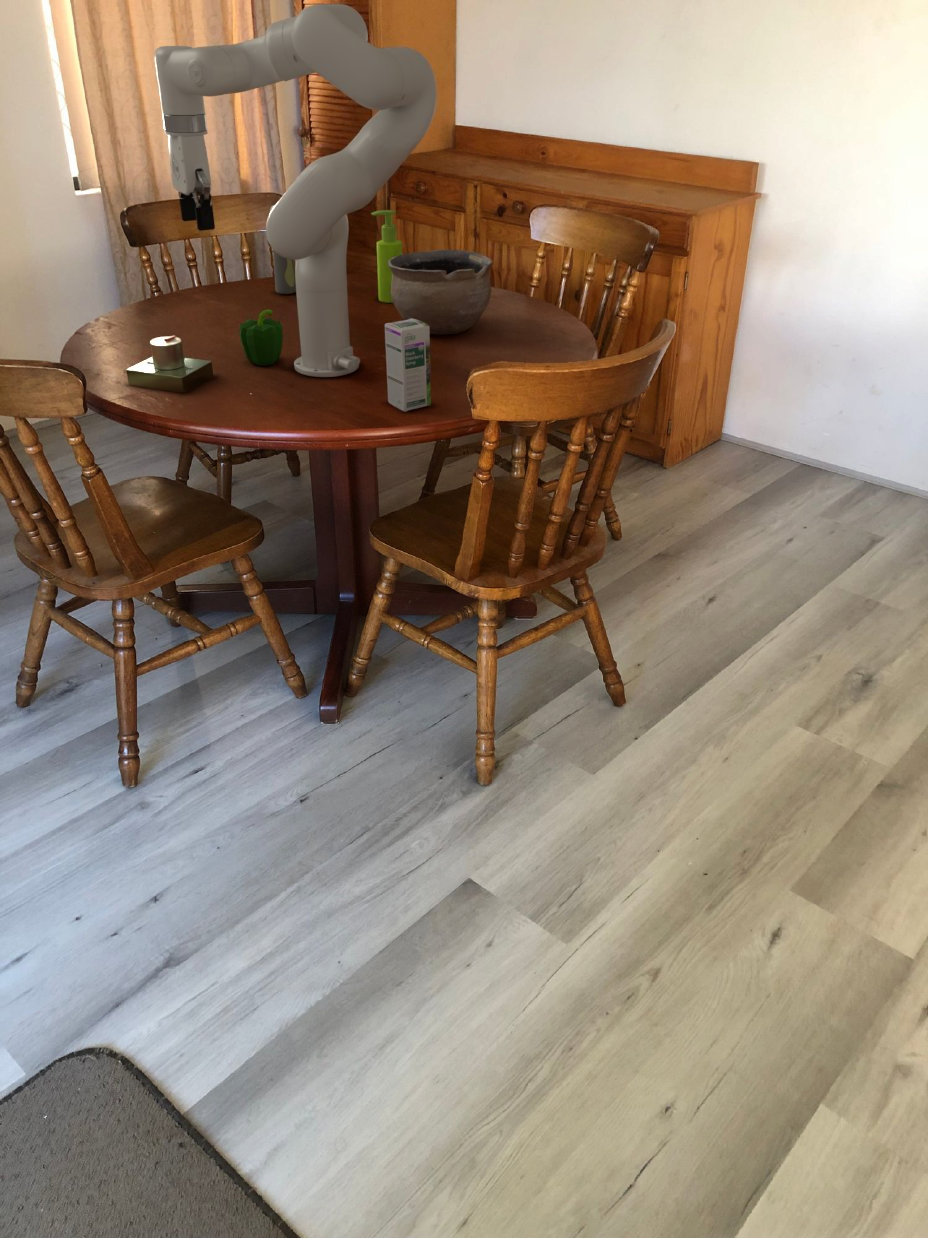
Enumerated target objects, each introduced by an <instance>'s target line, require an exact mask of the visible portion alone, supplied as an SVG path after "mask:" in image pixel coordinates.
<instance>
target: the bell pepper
mask: <svg viewBox="0 0 928 1238" xmlns="http://www.w3.org/2000/svg"><path fill="white" fill-rule="evenodd" d="M272 314H273V310H272V309H265V310H262V311H261V312H260V313H259V314H258V319H257V320H255V319H253V318H247V319H246V320H245V321H244V322H243V323H240V325H239V328H238V334H239V340H240V344H241V346H242V350H243V352H244V355H245V358H246V359H247V360H248V362H249V363H253V364H255V365H257V366H271V365H274V364H275V363H276V362H277V361H278V360H279V359H280V357H281V356H282V355H281V354H282V350H283V349H282V348H283V340H284V329H283V326H282V323H281V321H280V320H274V319H273V318H272V317H267V318H265V317H266V316H267V315H269V316H271V315H272Z"/></svg>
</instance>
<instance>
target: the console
mask: <svg viewBox="0 0 928 1238" xmlns="http://www.w3.org/2000/svg"><path fill="white" fill-rule="evenodd" d="M184 362H185V364H184V366H182V367H180V368H177V369H172V370H161V369H157V368H155V367H154V364H153V358H152V356H151V357H148V358H146V359H145V360H143V361H141V362H139V363H136V364H135V365H133V366H131V367H128V368H127V369H125V372H126V376H127V382H128V385H129V386H132V387H138V388H145V389H152V390H159V391H166V392H172V393H180V394H185V393H187V392H189V391H191V390H193V389H194V388H197V387H198V386H200V385H201V384H203V383H205V382H207V381H208V380H210V379H212V378H214V370H213V369H214V368H213V361H212V360H205V359H197V358H190V357H186V356H184Z"/></svg>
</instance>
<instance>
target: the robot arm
mask: <svg viewBox="0 0 928 1238" xmlns="http://www.w3.org/2000/svg"><path fill="white" fill-rule="evenodd" d="M368 33H369V32H368V27H367V24H366V22H365V20H364V18H363V17H362V15H361V14H360V13H359V12H358V11H357V10H356V9H355V8H353V7H352V6H349V5H347V4H342V3H318V4H316V3H315V4H312V5H309V6H307V7H305V8H303V9H302V10H300V12H299V13H298V14H297V15H296V16H292V17H289V18H285V19H282V20H278V21H275V22H272V23H271V24H269V25H268V27H267V29H266V31H265V34H263V35H261V36H258V37H254V38H252V39H251V38H250V39H248V40H244V41H241V42H237V43H233V44H219V45H207V46H206V45H205V46H197V47H192V46H187V45H165V46H163V45H162V46H159V47H157V48H156V49H155V52H154V63H155V64H154V65H155V71H156V77H157V85H158V92H159V99H160V106H161V113H162V120H163V129H164V133H165V134H164V135H166V136H168V138H167V140H168V141H167V142H168V143H167V144H168V154H169V166H170V175H171V185H172V188H173V189H174V190H176V191H177V192H178V194H177V195H178V198H179V200H178V201H179V207H180V214H181V220H182V221H183V222H192V221H196V227H197V230H198V231H200V232H201V231H210V230H215V229H216V223H215V217H214V208H213V200H212V198H213V197H212V193H211V191H212V178H211V172H210V170H211V169H210V164H209V159H208V153H207V145H206V141H205V135H208V134H209V133H208V124H207V116H206V115H207V114H206V108H205V100H204V97H207V98H208V97H219V96H224V95H231V94H240V93H244V92H249V91H252V90H255V89H258V88H259V89H260V88H262V87H267V86H270V85H275V84H277V83H280V82H288V81H291V80H295V79H298V78H302V77H305V76H308V75H312V74H315V73H316V74H317V75H319V76H320V77H321V78H323V79H324V80H325V81H327V82H328V83H329V84H330V85H332V86H334V87H335V88H337V90H339V91H340V92H341V93H343V94H344V95H346V96H347V97H348V98H349V99H351V100H353V101H354V102H355V103H357V104H358V105H360V106H361V107H364V108H366V109H369V110H373V111H377V112H376V113H375V114H374V115H373V116H372V117H371V118H370V119H369V120H368V121H366V123H365V124H364V125H363V126H362V128H361V129H360V130H359V132H358V133H357V134H356V135H355V136H354V138H353V139H352V140H351V141H350V142H349V143H348V144H347V145H346V146H345V147H344V148H343V149H342V150H340V151H337V152H335V153H332V154H327V155H325V156H322V157H318V158H317V159H315V160H313V161H311V162H310V163H309V164H308V165H307V166H306V167H305V168H304V169H303V170H302V171H301V172H300V174H299V175H298V176H297V177H296V178H295V180H294V181H293V182H292V184H291V185H290V186H289V187H288V189H286V191H285V192H284V193H283V195H282V196H281V197H280V198H279V199H278V201H277V202H276V203H275V204H276V205H275V204H274V205H275V206H274V208H273V209H272V211H271V212H270V211H269V214H268V216H267V220H266V225H265V233H266V238H267V242H268V244H269V246H270V247H271V249H272V251H273V250H274V251H275V252H276V253H277V254H278V255H280V256H281V257H283V258H286V259H290V260H293V261H295V264H294V274H295V284H296V291H295V293H296V295H295V296H296V303H297V304H296V306H297V318H298V330H299V342H300V343H299V344H300V355H301V356H299V357H297V358H296V359H295V360H294V362H293V366H294V367H293V368H294V370H295V371H296V372H297V373H298V374H301V375H303V376H308V377H313V378H335V377H341V376H346V375H349V374H352V373H354V372H356V370H358V369H359V368H360V364H361V358H360V357H357V356H354V347H353V346H351V338H350V335H351V334H350V319H349V317H350V316H349V300H348V299H349V298H348V278H347V277H348V276H347V254H348V253H347V251H348V243H349V229H350V228H349V227H350V226H349V219H348V214H351V213H354V212H356V211H358V210H360V209H363V208H365V207H366V206H367V205H369V203H370V202H371V201H373V199H374V198H375V196H376V195H377V194H378V193H379V192H380V191H381V189H382V188H383V187H384V186H385V185H386V183H387V182H388V181H389V180H390V179H391V177H393V175H394V174H395V173H396V172H397V171H398V169H399V168H400V166H402V164H403V163H404V162H405V161H406V160H407V158H409V156H410V155H411V154H412V152H414V151H415V149H416V148H417V147H418V145H419V144H420V143H421V142H422V140H423V138H424V137H425V136H426V134H427V132H428V131H429V129H430V127H431V124H432V123H433V119H434V116H435V113H436V108H437V101H438V100H437V99H438V92H437V91H438V89H437V82H436V77H435V74H434V70H433V68H432V66H431V64H430V61H428V59H427V58H426V56H424V55H423V54H422V53H421V52H419V51H418V50H417V49H415V48H411V47H407V46H390V47H389V46H388V47H380V48H379V47H376V46H375V45H373V44H371V43H370V42H369V41H368V39H369V37H368V36H369V34H368Z"/></svg>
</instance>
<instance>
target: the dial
mask: <svg viewBox="0 0 928 1238" xmlns="http://www.w3.org/2000/svg"><path fill="white" fill-rule="evenodd" d="M149 346H150V352H151V357H152V358H153V364H154V367H155V368H157V369H161V370H172V369H177V368H180V367H182V366H184V364H185V362H184V357H185V356H184V349H183V341H182V339H181V338H180V337H177V336H176V335H174V334H172V335H170V336H160V337H155V338H152V339H151V340H150V341H149Z"/></svg>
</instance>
